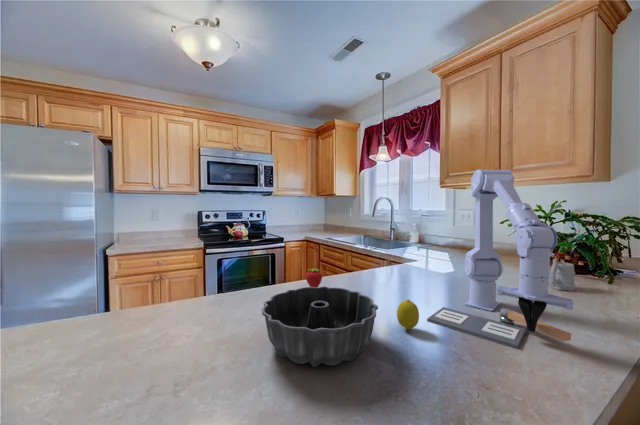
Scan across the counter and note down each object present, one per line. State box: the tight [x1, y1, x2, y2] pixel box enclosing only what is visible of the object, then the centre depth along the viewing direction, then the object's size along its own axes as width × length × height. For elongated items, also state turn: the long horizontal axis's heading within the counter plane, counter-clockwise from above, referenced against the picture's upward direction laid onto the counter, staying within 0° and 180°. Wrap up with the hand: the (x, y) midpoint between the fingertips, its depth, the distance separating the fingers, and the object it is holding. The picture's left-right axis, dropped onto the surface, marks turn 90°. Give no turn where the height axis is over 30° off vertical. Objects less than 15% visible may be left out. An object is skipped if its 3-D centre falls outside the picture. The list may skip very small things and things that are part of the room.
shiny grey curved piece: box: [499, 315, 515, 326], centre depth 78 cm, size 3×3×2 cm
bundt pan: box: [261, 285, 379, 368], centre depth 65 cm, size 26×26×10 cm
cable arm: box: [499, 307, 572, 342], centre depth 71 cm, size 16×3×2 cm, turn 18°
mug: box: [549, 258, 576, 292], centre depth 111 cm, size 8×12×12 cm, turn 114°
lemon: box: [396, 299, 420, 331], centre depth 73 cm, size 6×6×8 cm
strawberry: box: [305, 264, 323, 287], centre depth 105 cm, size 6×8×10 cm
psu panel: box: [426, 307, 527, 350], centre depth 76 cm, size 12×21×1 cm, turn 46°
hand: (531, 330), depth 68 cm, fingers closed
